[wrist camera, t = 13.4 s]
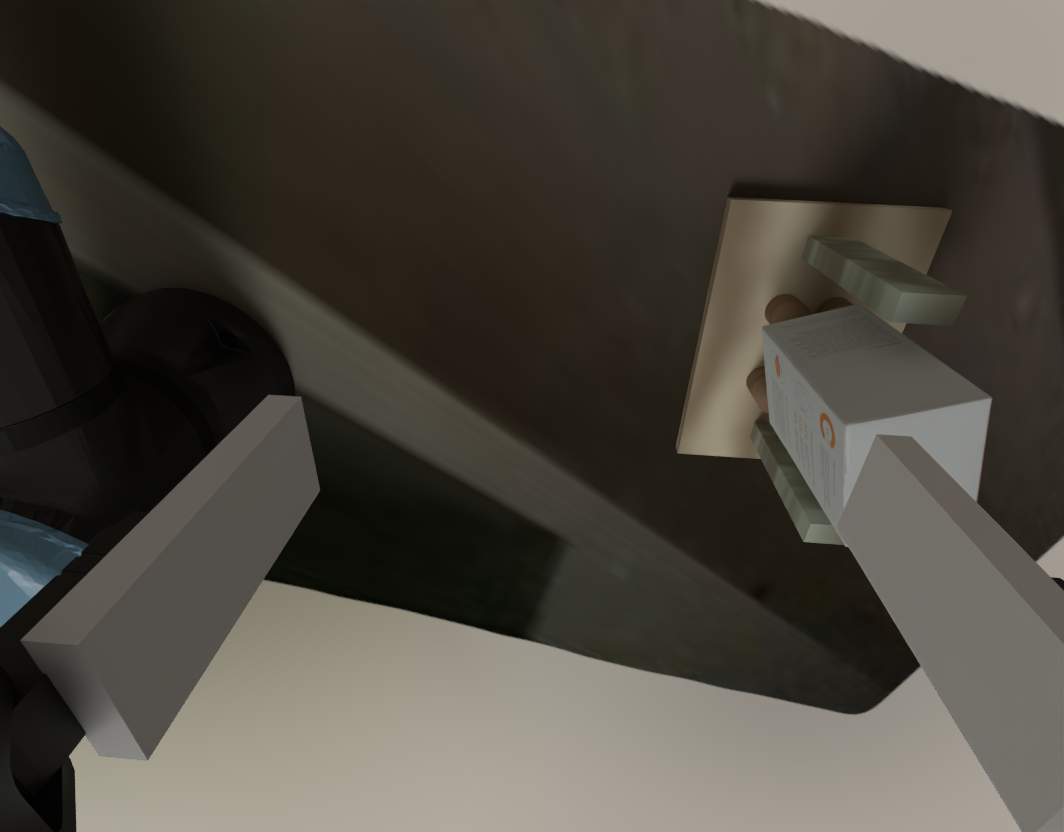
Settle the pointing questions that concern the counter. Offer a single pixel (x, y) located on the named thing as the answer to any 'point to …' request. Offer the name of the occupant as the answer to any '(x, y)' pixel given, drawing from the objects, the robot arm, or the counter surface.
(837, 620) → the counter surface
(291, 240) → the counter surface
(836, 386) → the small box
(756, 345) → the peg stand
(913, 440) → the robot arm
